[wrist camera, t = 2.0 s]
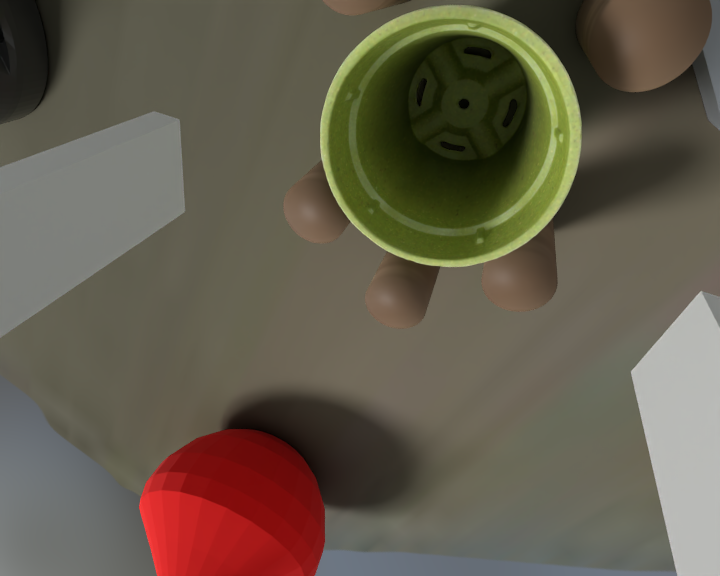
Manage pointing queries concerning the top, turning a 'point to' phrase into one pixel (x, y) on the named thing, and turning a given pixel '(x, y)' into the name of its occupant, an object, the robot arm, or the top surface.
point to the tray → (710, 68)
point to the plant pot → (451, 136)
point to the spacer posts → (538, 257)
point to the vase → (234, 509)
